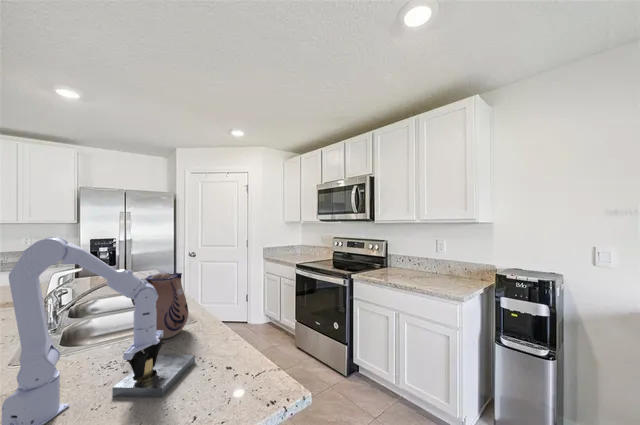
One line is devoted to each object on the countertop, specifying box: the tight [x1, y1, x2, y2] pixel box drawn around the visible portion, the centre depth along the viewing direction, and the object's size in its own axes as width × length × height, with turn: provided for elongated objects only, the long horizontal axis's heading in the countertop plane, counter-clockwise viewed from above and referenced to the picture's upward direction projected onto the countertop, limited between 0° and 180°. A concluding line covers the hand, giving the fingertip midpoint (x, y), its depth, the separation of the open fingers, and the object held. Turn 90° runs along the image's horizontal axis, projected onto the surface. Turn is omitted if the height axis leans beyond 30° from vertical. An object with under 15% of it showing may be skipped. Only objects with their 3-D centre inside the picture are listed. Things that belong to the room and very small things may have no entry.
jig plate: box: [111, 353, 196, 398], centre depth 84 cm, size 18×14×2 cm
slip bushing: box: [137, 356, 153, 381], centre depth 81 cm, size 4×4×7 cm
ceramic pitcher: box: [130, 272, 189, 340], centre depth 113 cm, size 18×21×25 cm
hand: (145, 371), depth 81 cm, fingers open, 4 cm apart
